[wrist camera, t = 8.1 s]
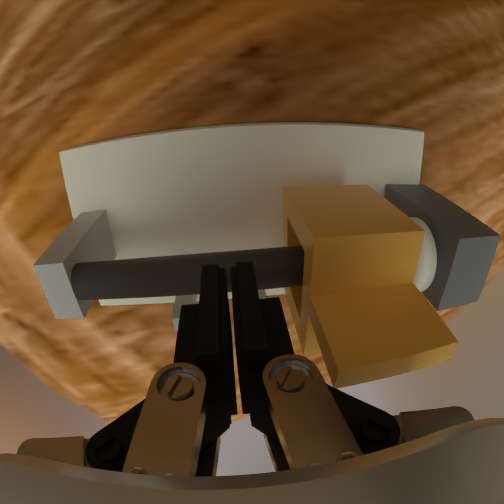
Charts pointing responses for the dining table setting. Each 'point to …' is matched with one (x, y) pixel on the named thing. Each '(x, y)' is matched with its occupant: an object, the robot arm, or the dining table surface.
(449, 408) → the robot arm
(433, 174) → the dining table surface
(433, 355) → the sleeve
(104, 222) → the linear slide rail
